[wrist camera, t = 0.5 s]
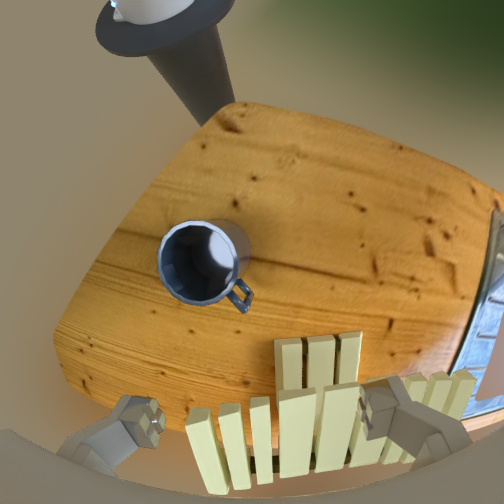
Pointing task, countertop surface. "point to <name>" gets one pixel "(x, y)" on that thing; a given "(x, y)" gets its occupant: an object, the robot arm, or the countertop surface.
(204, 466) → the slatted lounge chair
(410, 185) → the countertop surface
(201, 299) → the mug
